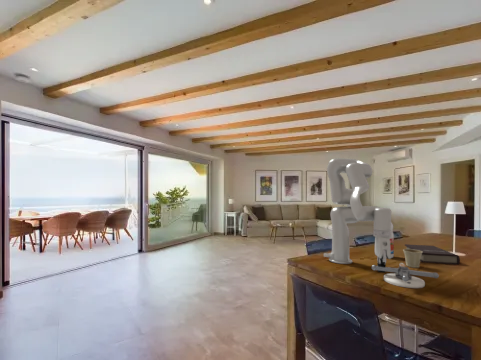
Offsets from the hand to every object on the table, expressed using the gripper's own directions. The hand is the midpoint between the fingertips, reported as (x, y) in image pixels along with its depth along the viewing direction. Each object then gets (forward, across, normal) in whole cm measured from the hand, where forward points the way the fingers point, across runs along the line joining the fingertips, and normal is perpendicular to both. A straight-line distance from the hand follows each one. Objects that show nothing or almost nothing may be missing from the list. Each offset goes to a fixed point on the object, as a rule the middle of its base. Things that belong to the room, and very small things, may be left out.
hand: (381, 271), depth 135 cm
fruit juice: (+3, +48, -15) cm, 51 cm away
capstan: (0, -6, -8) cm, 10 cm away
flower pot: (+3, +26, -23) cm, 35 cm away
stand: (+2, -6, -8) cm, 10 cm away
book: (+4, +52, -42) cm, 67 cm away
